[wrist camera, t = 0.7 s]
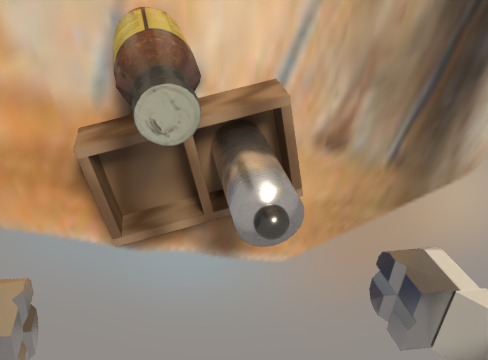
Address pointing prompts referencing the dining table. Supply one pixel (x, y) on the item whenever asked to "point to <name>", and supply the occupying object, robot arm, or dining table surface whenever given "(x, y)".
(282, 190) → the pepper mill
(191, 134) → the sauce bottle
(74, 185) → the dining table surface
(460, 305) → the robot arm
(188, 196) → the condiment caddy
